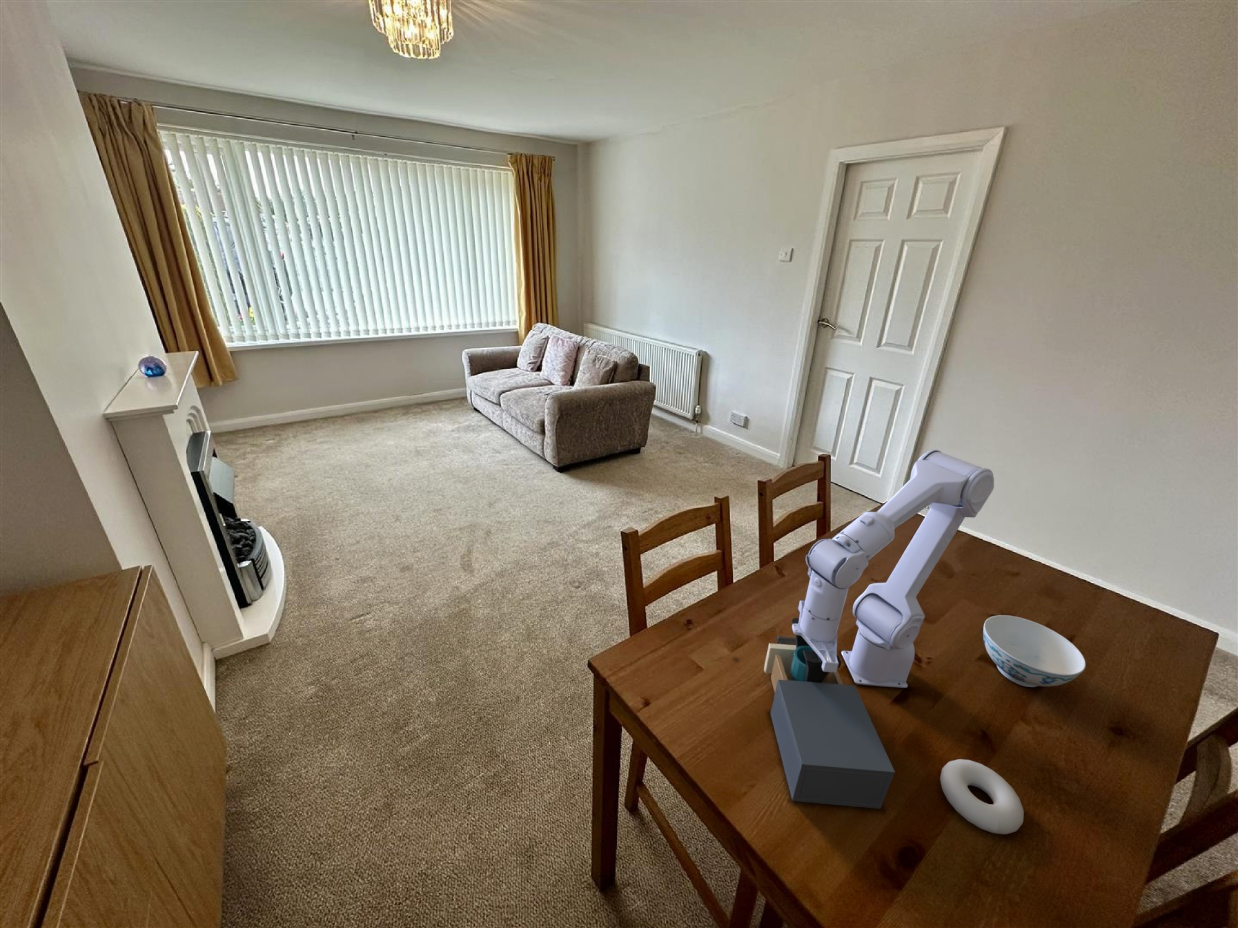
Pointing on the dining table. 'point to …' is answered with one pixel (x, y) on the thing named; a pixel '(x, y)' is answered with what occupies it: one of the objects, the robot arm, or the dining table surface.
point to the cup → (799, 664)
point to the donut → (988, 817)
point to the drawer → (787, 662)
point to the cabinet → (829, 745)
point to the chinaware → (1031, 652)
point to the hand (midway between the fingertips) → (807, 670)
